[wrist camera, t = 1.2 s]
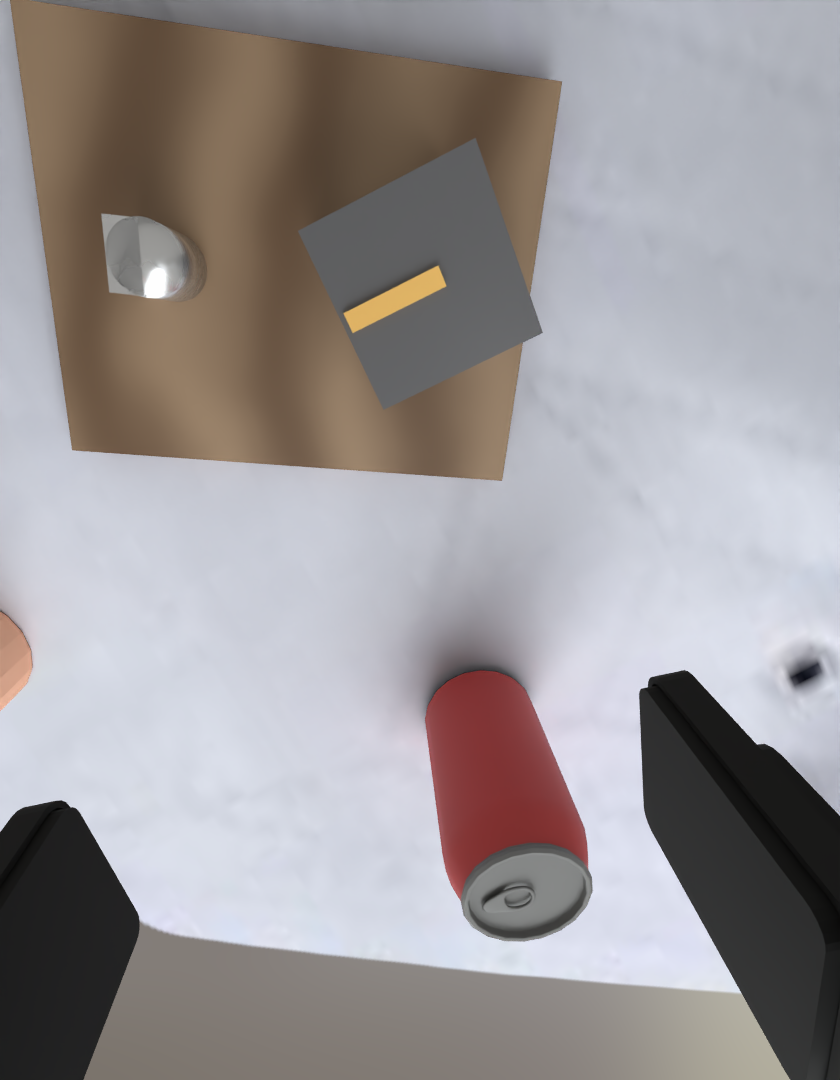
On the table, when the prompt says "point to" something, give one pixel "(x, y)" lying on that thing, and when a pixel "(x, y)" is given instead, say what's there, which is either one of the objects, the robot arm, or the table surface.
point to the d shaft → (151, 259)
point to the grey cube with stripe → (424, 275)
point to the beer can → (504, 811)
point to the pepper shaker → (12, 660)
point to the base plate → (256, 235)
